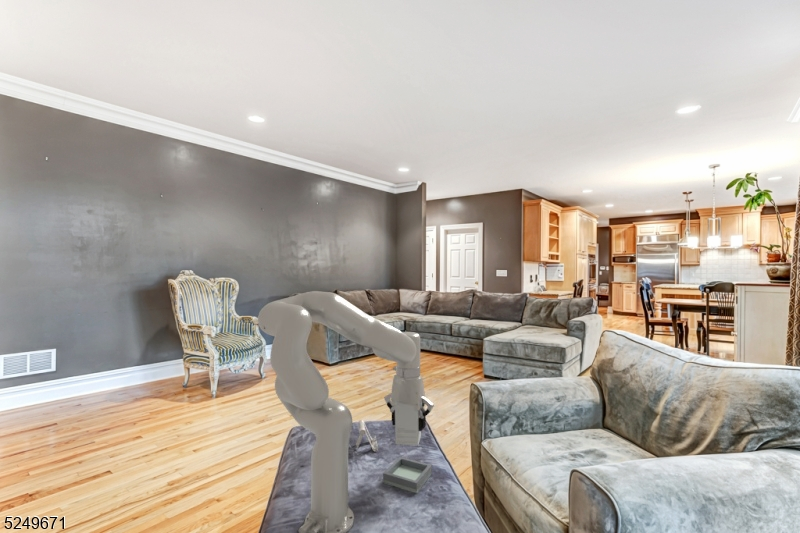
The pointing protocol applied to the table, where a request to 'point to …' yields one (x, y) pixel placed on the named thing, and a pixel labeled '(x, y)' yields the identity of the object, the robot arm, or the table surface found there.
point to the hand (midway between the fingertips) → (408, 426)
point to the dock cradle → (407, 474)
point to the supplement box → (406, 424)
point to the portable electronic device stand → (363, 432)
